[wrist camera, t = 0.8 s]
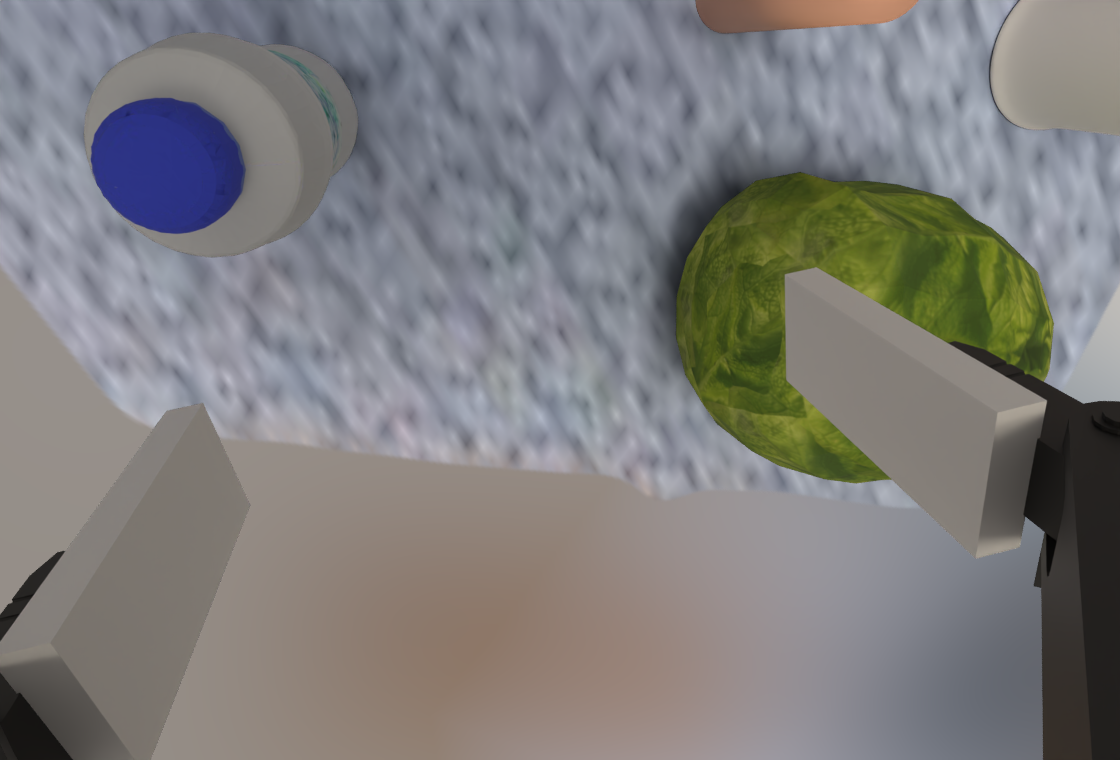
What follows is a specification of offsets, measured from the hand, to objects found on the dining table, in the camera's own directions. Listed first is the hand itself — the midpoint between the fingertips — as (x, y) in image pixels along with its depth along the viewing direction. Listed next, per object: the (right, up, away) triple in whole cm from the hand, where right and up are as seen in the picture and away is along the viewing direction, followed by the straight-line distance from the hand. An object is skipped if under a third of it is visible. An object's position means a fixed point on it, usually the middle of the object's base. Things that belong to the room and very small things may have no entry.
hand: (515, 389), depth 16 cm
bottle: (-12, +14, +19) cm, 27 cm away
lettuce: (+17, +6, +29) cm, 34 cm away
